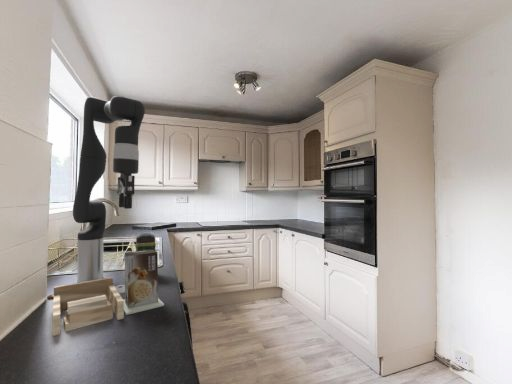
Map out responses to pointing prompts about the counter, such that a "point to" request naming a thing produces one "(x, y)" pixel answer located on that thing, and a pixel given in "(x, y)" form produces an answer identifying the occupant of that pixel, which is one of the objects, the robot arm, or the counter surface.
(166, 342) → the counter surface
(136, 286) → the coffee box
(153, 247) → the coffee jar
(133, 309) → the sage mat
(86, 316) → the offcut stack
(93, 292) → the pine rack
